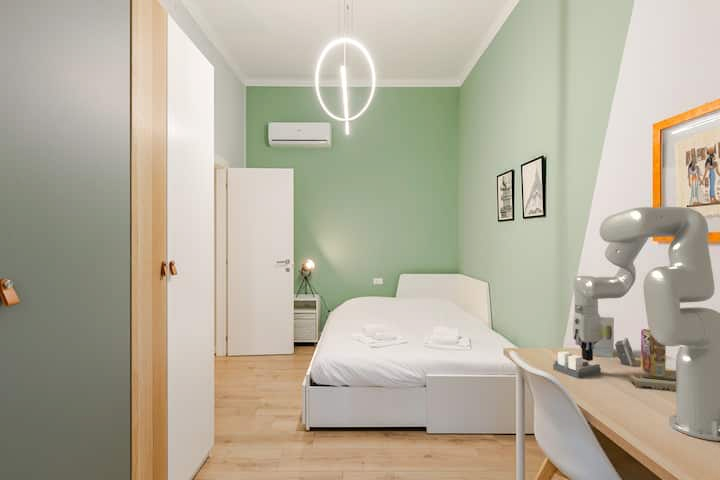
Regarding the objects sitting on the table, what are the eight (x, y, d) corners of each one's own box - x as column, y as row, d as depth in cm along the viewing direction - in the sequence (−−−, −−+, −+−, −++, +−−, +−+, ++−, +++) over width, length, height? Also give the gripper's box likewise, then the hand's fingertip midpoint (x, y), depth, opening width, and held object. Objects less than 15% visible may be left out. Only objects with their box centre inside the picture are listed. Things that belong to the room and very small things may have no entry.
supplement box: (588, 355, 170) (588, 315, 170) (583, 350, 179) (583, 311, 179) (614, 357, 168) (614, 316, 168) (608, 351, 177) (607, 312, 176)
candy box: (666, 377, 144) (666, 334, 144) (653, 376, 145) (653, 334, 144) (653, 369, 153) (652, 328, 153) (640, 368, 153) (640, 328, 153)
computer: (682, 385, 137) (682, 376, 137) (693, 394, 129) (693, 384, 129) (628, 381, 142) (628, 371, 142) (635, 389, 134) (635, 379, 134)
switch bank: (600, 373, 149) (600, 364, 149) (577, 378, 144) (577, 368, 144) (575, 365, 158) (575, 356, 158) (553, 369, 154) (553, 360, 153)
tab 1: (571, 365, 151) (571, 353, 151) (564, 366, 150) (564, 354, 150) (564, 362, 154) (564, 351, 154) (557, 364, 153) (557, 352, 153)
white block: (582, 369, 147) (582, 356, 147) (575, 370, 145) (575, 358, 145) (575, 366, 149) (575, 354, 149) (568, 368, 148) (568, 356, 148)
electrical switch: (632, 367, 156) (630, 342, 156) (617, 365, 159) (614, 341, 159) (635, 361, 163) (632, 337, 163) (620, 360, 166) (617, 337, 167)
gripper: (581, 312, 143) (582, 365, 143) (609, 309, 149) (610, 359, 149) (563, 309, 150) (564, 359, 149) (590, 307, 156) (591, 355, 155)
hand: (587, 359), depth 149 cm, fingers closed
